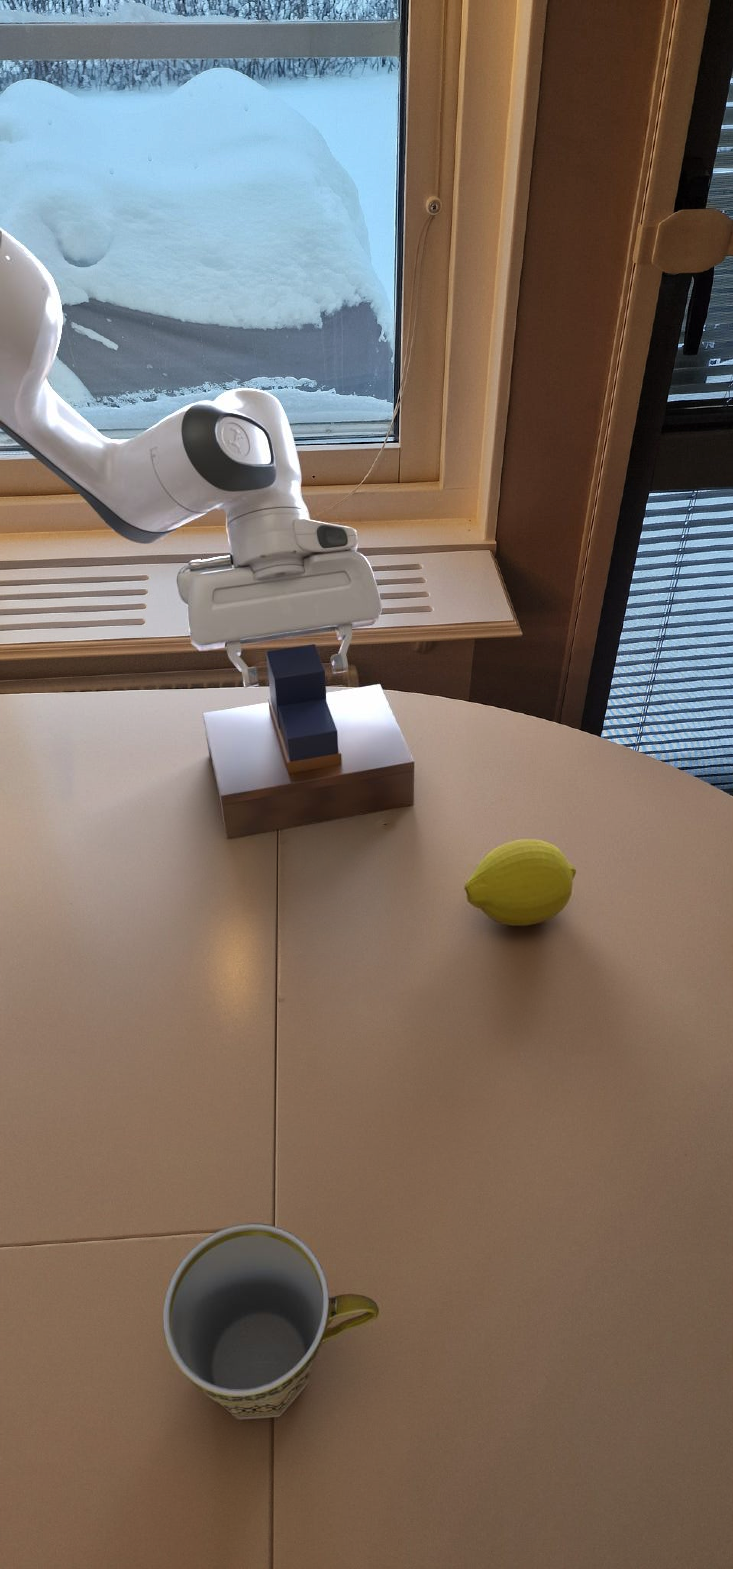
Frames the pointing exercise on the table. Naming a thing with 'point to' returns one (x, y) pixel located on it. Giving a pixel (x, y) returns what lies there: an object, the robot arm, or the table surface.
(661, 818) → the table surface
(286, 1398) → the ceramic cup
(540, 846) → the lemon
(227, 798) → the shoe shelf
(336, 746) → the trainer
